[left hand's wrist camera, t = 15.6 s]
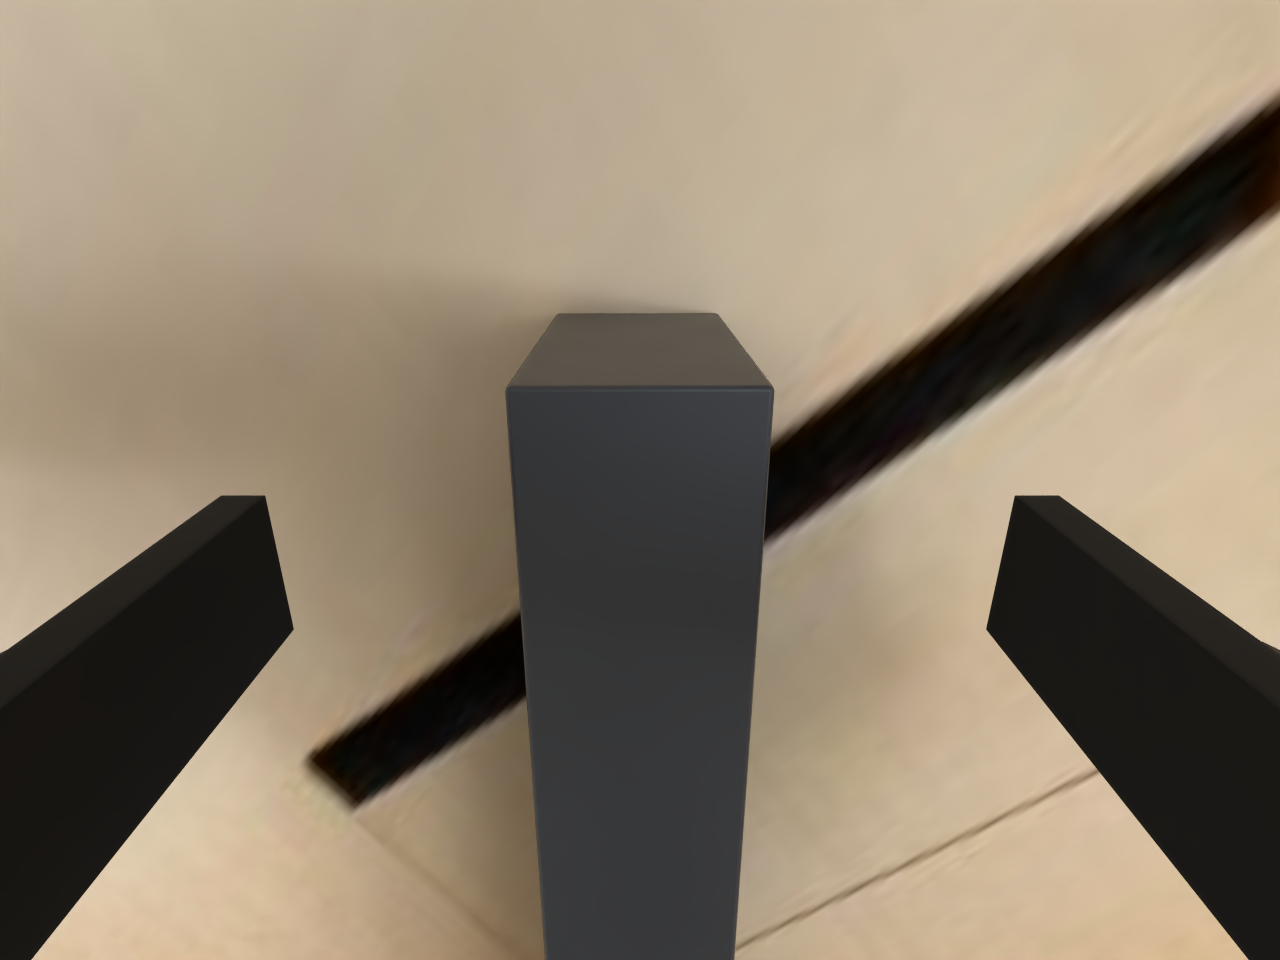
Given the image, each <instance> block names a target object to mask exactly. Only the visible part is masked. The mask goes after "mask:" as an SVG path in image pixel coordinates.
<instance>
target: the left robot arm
mask: <svg viewBox="0 0 1280 960" xmlns="http://www.w3.org/2000/svg"><path fill="white" fill-rule="evenodd" d="M293 630H294V628H293V623H292V619H291V614H290V609H289V605H288V600H287V595H286V591H285V586H284V582H283V577H282V572H281V568H280V563H279V558H278V554H277V549H276V544H275V540H274V535H273V530H272V526H271V521H270V516H269V512H268V507H267V502H266V498H265V496H220V497H219V498H217V499H216V500H215V501H213V502H212V503H210V504H209V505H208V506H206V507H205V508H203V509H202V510H201V511H199V512H198V513H196V514H195V515H194V516H192V517H191V518H190V519H188V520H187V521H185V522H184V523H183V524H181V525H180V526H178V527H177V528H176V529H174V530H173V531H172V532H170V533H169V534H167V535H166V536H165V537H163V538H162V539H160V540H159V541H158V542H156V543H155V544H154V545H152V546H151V547H149V548H148V549H147V550H145V551H144V552H142V553H141V554H140V555H138V556H137V557H135V558H134V559H133V560H131V561H130V562H129V563H127V564H126V565H124V566H123V567H122V568H120V569H119V570H117V571H116V572H115V573H113V574H112V575H111V576H109V577H108V578H106V579H105V580H104V581H102V582H101V583H99V584H98V585H97V586H95V587H94V588H93V589H91V590H90V591H88V592H87V593H86V594H84V595H83V596H81V597H80V598H79V599H77V600H76V601H74V602H73V603H72V604H70V605H69V606H68V607H66V608H65V609H63V610H62V611H61V612H59V613H58V614H56V615H55V616H54V617H52V618H51V619H50V620H48V621H47V622H45V623H44V624H43V625H41V626H40V627H38V628H37V629H36V630H34V631H33V632H31V633H30V634H29V635H27V636H26V637H25V638H23V639H22V640H20V641H19V642H18V643H16V644H15V645H13V646H12V647H11V648H9V649H8V650H6V651H4V652H2V653H0V960H31V959H32V958H33V957H34V956H35V954H36V953H37V952H38V951H39V949H40V948H41V947H42V946H43V944H44V943H45V942H46V940H47V939H48V938H49V937H50V935H51V934H52V933H53V932H54V930H55V929H56V928H57V927H58V925H59V924H60V923H61V922H62V920H63V919H64V918H65V917H66V915H67V914H68V913H69V912H70V910H71V909H72V908H73V907H74V905H75V904H76V903H77V901H78V900H79V899H80V898H81V896H82V895H83V894H84V893H85V891H86V890H87V889H88V888H89V886H90V885H91V884H92V883H93V881H94V880H95V879H96V878H97V876H98V875H99V874H100V873H101V871H102V870H103V869H104V868H105V866H106V865H107V864H108V862H109V861H110V860H111V859H112V857H113V856H114V855H115V854H116V852H117V851H118V850H119V849H120V847H121V846H122V845H123V844H124V842H125V841H126V840H127V839H128V837H129V836H130V835H131V834H132V832H133V831H134V830H135V828H136V827H137V826H138V825H139V823H140V822H141V821H142V820H143V818H144V817H145V816H146V815H147V813H148V812H149V811H150V810H151V808H152V807H153V806H154V805H155V803H156V802H157V801H158V800H159V798H160V797H161V796H162V795H163V793H164V792H165V791H166V789H167V788H168V787H169V786H170V784H171V783H172V782H173V781H174V779H175V778H176V777H177V776H178V774H179V773H180V772H181V771H182V769H183V768H184V767H185V766H186V764H187V763H188V762H189V761H190V759H191V758H192V757H193V756H194V754H195V753H196V752H197V750H198V749H199V748H200V747H201V745H202V744H203V743H204V742H205V740H206V739H207V738H208V737H209V735H210V734H211V733H212V732H213V730H214V729H215V728H216V727H217V725H218V724H219V723H220V722H221V720H222V719H223V718H224V717H225V715H226V714H227V713H228V711H229V710H230V709H231V708H232V706H233V705H234V704H235V703H236V701H237V700H238V699H239V698H240V696H241V695H242V694H243V693H244V691H245V690H246V689H247V688H248V686H249V685H250V684H251V683H252V681H253V680H254V679H255V677H256V676H257V675H258V674H259V672H260V671H261V670H262V669H263V667H264V666H265V665H266V664H267V662H268V661H269V660H270V659H271V657H272V656H273V655H274V654H275V652H276V651H277V650H278V649H279V647H280V646H281V645H282V644H283V642H284V641H285V640H286V638H287V637H288V636H289V635H290V633H291V632H292V631H293ZM986 630H987V631H988V632H989V633H990V635H991V636H992V637H993V638H994V640H995V641H996V642H997V644H998V645H999V646H1000V647H1001V649H1002V650H1003V651H1004V652H1005V654H1006V655H1007V656H1008V657H1009V659H1010V660H1011V661H1012V662H1013V664H1014V665H1015V666H1016V667H1017V669H1018V670H1019V671H1020V672H1021V674H1022V675H1023V676H1024V677H1025V679H1026V680H1027V681H1028V683H1029V684H1030V685H1031V686H1032V688H1033V689H1034V690H1035V691H1036V693H1037V694H1038V695H1039V696H1040V698H1041V699H1042V700H1043V701H1044V703H1045V704H1046V705H1047V706H1048V708H1049V709H1050V710H1051V711H1052V713H1053V714H1054V715H1055V717H1056V718H1057V719H1058V720H1059V722H1060V723H1061V724H1062V725H1063V727H1064V728H1065V729H1066V730H1067V732H1068V733H1069V734H1070V735H1071V737H1072V738H1073V739H1074V740H1075V742H1076V743H1077V744H1078V745H1079V747H1080V748H1081V749H1082V750H1083V752H1084V753H1085V754H1086V756H1087V757H1088V758H1089V759H1090V761H1091V762H1092V763H1093V764H1094V766H1095V767H1096V768H1097V769H1098V771H1099V772H1100V773H1101V774H1102V776H1103V777H1104V778H1105V779H1106V781H1107V782H1108V783H1109V784H1110V786H1111V787H1112V788H1113V789H1114V791H1115V792H1116V793H1117V795H1118V796H1119V797H1120V798H1121V800H1122V801H1123V802H1124V803H1125V805H1126V806H1127V807H1128V808H1129V810H1130V811H1131V812H1132V813H1133V815H1134V816H1135V817H1136V818H1137V820H1138V821H1139V822H1140V823H1141V825H1142V826H1143V827H1144V828H1145V830H1146V831H1147V832H1148V834H1149V835H1150V836H1151V837H1152V839H1153V840H1154V841H1155V842H1156V844H1157V845H1158V846H1159V847H1160V849H1161V850H1162V851H1163V852H1164V854H1165V855H1166V856H1167V857H1168V859H1169V860H1170V861H1171V862H1172V864H1173V865H1174V866H1175V868H1176V869H1177V870H1178V871H1179V873H1180V874H1181V875H1182V876H1183V878H1184V879H1185V880H1186V881H1187V883H1188V884H1189V885H1190V886H1191V888H1192V889H1193V890H1194V891H1195V893H1196V894H1197V895H1198V896H1199V898H1200V899H1201V900H1202V901H1203V903H1204V904H1205V905H1206V907H1207V908H1208V909H1209V910H1210V912H1211V913H1212V914H1213V915H1214V917H1215V918H1216V919H1217V920H1218V922H1219V923H1220V924H1221V925H1222V927H1223V928H1224V929H1225V930H1226V932H1227V933H1228V934H1229V935H1230V937H1231V938H1232V939H1233V940H1234V942H1235V943H1236V944H1237V946H1238V947H1239V948H1240V949H1241V951H1242V952H1243V953H1244V954H1245V956H1246V957H1247V958H1248V959H1249V960H1280V650H1278V649H1276V648H1274V647H1272V646H1270V645H1268V644H1266V643H1264V642H1261V641H1260V640H1258V639H1257V638H1255V637H1254V636H1253V635H1251V634H1250V633H1249V632H1247V631H1246V630H1244V629H1243V628H1242V627H1240V626H1239V625H1237V624H1236V623H1235V622H1233V621H1232V620H1230V619H1229V618H1228V617H1226V616H1225V615H1224V614H1222V613H1221V612H1219V611H1218V610H1217V609H1215V608H1214V607H1212V606H1211V605H1210V604H1208V603H1207V602H1206V601H1204V600H1203V599H1201V598H1200V597H1199V596H1197V595H1196V594H1194V593H1193V592H1192V591H1190V590H1189V589H1187V588H1186V587H1185V586H1183V585H1182V584H1181V583H1179V582H1178V581H1176V580H1175V579H1174V578H1172V577H1171V576H1169V575H1168V574H1167V573H1165V572H1164V571H1163V570H1161V569H1160V568H1158V567H1157V566H1156V565H1154V564H1153V563H1151V562H1150V561H1149V560H1147V559H1146V558H1145V557H1143V556H1142V555H1140V554H1139V553H1138V552H1136V551H1135V550H1133V549H1132V548H1131V547H1129V546H1128V545H1126V544H1125V543H1124V542H1122V541H1121V540H1120V539H1118V538H1117V537H1115V536H1114V535H1113V534H1111V533H1110V532H1108V531H1107V530H1106V529H1104V528H1103V527H1102V526H1100V525H1099V524H1097V523H1096V522H1095V521H1093V520H1092V519H1090V518H1089V517H1088V516H1086V515H1085V514H1083V513H1082V512H1081V511H1079V510H1078V509H1077V508H1075V507H1074V506H1072V505H1071V504H1070V503H1068V502H1067V501H1065V500H1064V499H1063V498H1061V497H1060V496H1015V498H1014V502H1013V507H1012V512H1011V516H1010V521H1009V526H1008V530H1007V535H1006V540H1005V544H1004V549H1003V554H1002V558H1001V563H1000V568H999V572H998V577H997V582H996V586H995V591H994V595H993V600H992V605H991V609H990V614H989V619H988V623H987V628H986Z"/></svg>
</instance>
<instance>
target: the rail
mask: <svg viewBox="0 0 1280 960" xmlns="http://www.w3.org/2000/svg"><path fill="white" fill-rule="evenodd" d="M505 394H506V408H507V423H508V437H509V451H510V466H511V480H512V494H513V508H514V523H515V537H516V551H517V565H518V580H519V594H520V608H521V622H522V637H523V651H524V665H525V680H526V694H527V708H528V722H529V737H530V751H531V765H532V779H533V794H534V808H535V822H536V836H537V851H538V865H539V879H540V893H541V908H542V922H543V936H544V951H545V960H734V954H735V940H736V926H737V912H738V897H739V883H740V869H741V855H742V841H743V826H744V812H745V798H746V784H747V770H748V756H749V741H750V727H751V713H752V699H753V685H754V670H755V656H756V642H757V628H758V614H759V599H760V585H761V571H762V557H763V543H764V529H765V514H766V500H767V486H768V472H769V458H770V443H771V429H772V415H773V401H774V389H773V386H772V385H771V384H770V382H769V381H768V380H767V378H766V377H765V376H764V374H763V373H762V372H761V370H760V369H759V368H758V366H757V365H756V364H755V363H754V361H753V360H752V359H751V357H750V356H749V355H748V353H747V352H746V351H745V349H744V348H743V347H742V345H741V344H740V343H739V341H738V340H737V339H736V337H735V336H734V335H733V334H732V332H731V331H730V330H729V328H728V327H727V326H726V324H725V323H724V322H723V320H722V319H721V318H720V316H719V315H718V314H558V315H556V317H555V318H554V320H553V321H552V322H551V324H550V325H549V327H548V328H547V330H546V331H545V333H544V334H543V335H542V337H541V338H540V340H539V341H538V343H537V344H536V346H535V347H534V348H533V350H532V351H531V353H530V354H529V356H528V357H527V359H526V360H525V361H524V363H523V364H522V366H521V367H520V369H519V370H518V372H517V373H516V374H515V376H514V377H513V379H512V380H511V382H510V383H509V385H508V386H507V388H506V391H505Z"/></svg>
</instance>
